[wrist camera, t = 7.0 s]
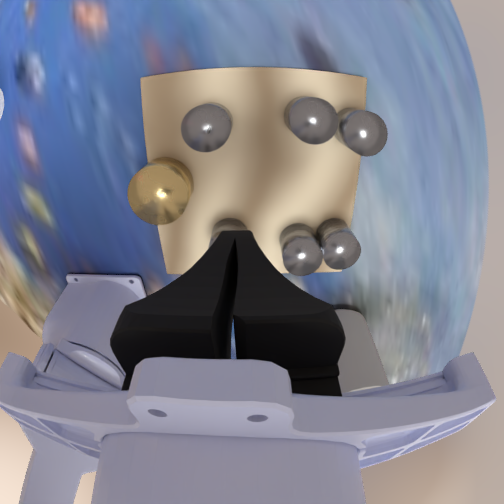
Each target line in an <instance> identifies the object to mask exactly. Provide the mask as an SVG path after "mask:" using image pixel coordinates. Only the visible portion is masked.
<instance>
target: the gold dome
mask: <svg viewBox="0 0 504 504" xmlns="http://www.w3.org/2000/svg"><path fill="white" fill-rule="evenodd" d="M193 189H194V182H193V177H192V175H191V172H190V171H189V169H188V168H187V167H186V166H185V165H184V164H183V163H182V162H180V161H179V160H177V159H174V158H170V157H160V158H156V159H154V160H152V161H150V162H149V163H148V164H147V165H145V166H144V167H143V168H142V169H141V170H140V171H138V172H137V173H136V174H135V175H134V176H133V178H132V179H131V181H130V183H129V186H128V200H129V204H130V206H131V208H132V210H133V211H134V213H135V214H136V215H137V216H138V217H139V218H141V219H142V220H144V221H145V222H147V223H150V224H154V225H166V224H170V223H172V222H174V221H176V220H177V219H178V218H179V217H180V216H181V215H182V214H183V212H184V211H185V209H186V206H187V204H188V202H189V200H190V198H191V196H192V193H193Z"/></svg>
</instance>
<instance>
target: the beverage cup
mask: <svg viewBox="0 0 504 504" xmlns="http://www.w3.org/2000/svg"><path fill="white" fill-rule="evenodd" d="M3 109H4V97H3V92H2V90H1V89H0V119H1V117H2V113H3Z"/></svg>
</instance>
